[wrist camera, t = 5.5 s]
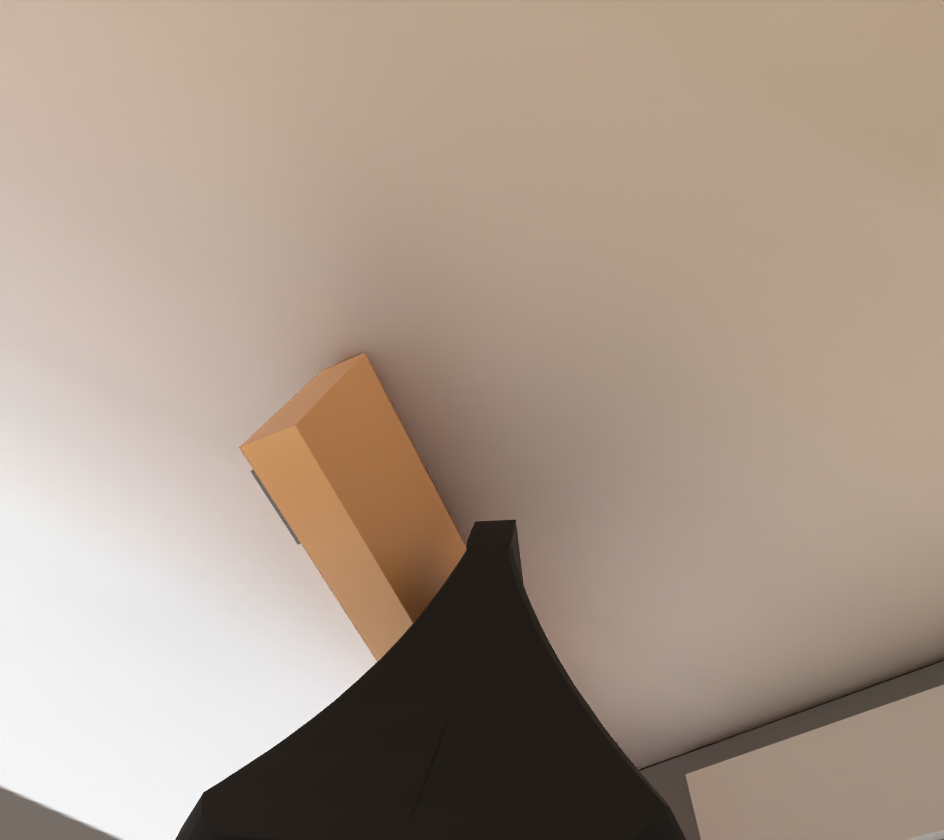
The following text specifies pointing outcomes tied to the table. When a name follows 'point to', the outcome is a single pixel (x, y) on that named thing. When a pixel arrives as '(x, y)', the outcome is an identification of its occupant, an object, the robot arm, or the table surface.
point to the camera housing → (822, 771)
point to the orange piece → (357, 500)
